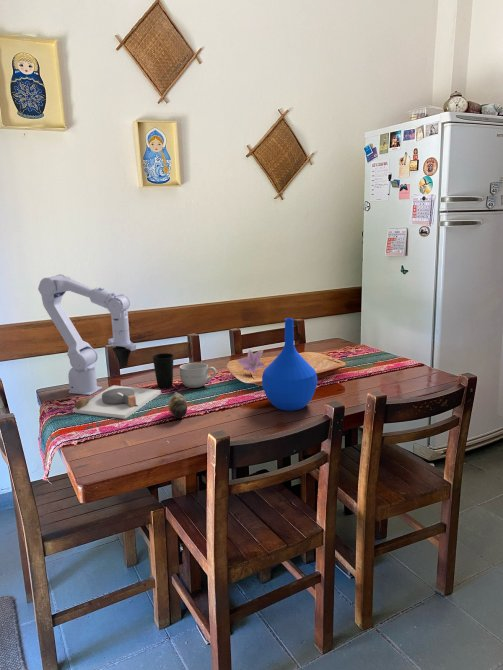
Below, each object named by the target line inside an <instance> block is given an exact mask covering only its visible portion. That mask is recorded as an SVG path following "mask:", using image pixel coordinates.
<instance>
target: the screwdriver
mask: <svg viewBox="0 0 503 670" xmlns="http://www.w3.org/2000/svg"><path fill="white" fill-rule="evenodd" d="M95 396H96V395H92V396H91V395H90V397H83V398H81V399H79V400H78V401H76V402H75V403H74V408H75V407H76V408H77V409H80V408H81V407H83V406H85V405H86V404H88V403H89V400H90V399H92V398H94V397H95Z"/></svg>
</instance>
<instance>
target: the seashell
mask: <svg viewBox="0 0 503 670" xmlns="http://www.w3.org/2000/svg"><path fill="white" fill-rule="evenodd" d="M167 408H168V411H169V413H170V414H171V416H173V417H174V418H176V419H182V418H184V417H185V416H186V414H187V412H188V403H187V401H186V399H185V397H184V396H183V395H182V394H181V393H180V392H177V391H176V392H174V393H173V394H172V395H171V396H170V398H169V400H168V404H167Z"/></svg>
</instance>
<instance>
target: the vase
mask: <svg viewBox="0 0 503 670" xmlns="http://www.w3.org/2000/svg"><path fill="white" fill-rule="evenodd" d="M294 329H295V328H294V318H292V317H287V318H284V344H283V345H284V346H283V348H282V350H281V351H280V352H279V353H278V355H277V356H276V357H275V358H274V359H273V360H272V361H271V362H270V363H269V364H268V366H267V367H265V368H264V369H263V372H262V377H261V385H262V389H263V391H264V394H265V396H266V398H267V399H268V401H269V403H271V405H272V406H274V407H275V408H276V409H278V410H280V411H288V412H293V411H298V410H302V409H303V408H304V407H306V406H307V405H308V404H309V403H310V402H311V400H312V398H313V397H314V395H315V392H316V389H317V385H318V376H317V371H316V370H315V368H314V367H312V366H311V365H310V363H309V362H307V361H306V360H305V358H304V357H303V356H302V355H301V354H300V353H299V352H298V351H297V349H296V347H295V342H294V341H295V338H294V337H295V335H294V334H295V333H294Z"/></svg>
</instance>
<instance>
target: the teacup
mask: <svg viewBox="0 0 503 670" xmlns="http://www.w3.org/2000/svg"><path fill="white" fill-rule="evenodd" d="M210 370H212V371H213V374H212V375H211V376H209V372H210ZM216 375H217V369H216V368H215V367H214V366H209V365H208V363H204V362H189V363H184V364H180V366H179V377H180V378H179V379H180V382H181V383H182V384H183V385H184V386H185V387H187V388H191V389H195V388H201V387H203V386H205V385H206V383H208V382H210V380H211V379H214V378H215V376H216Z"/></svg>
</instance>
